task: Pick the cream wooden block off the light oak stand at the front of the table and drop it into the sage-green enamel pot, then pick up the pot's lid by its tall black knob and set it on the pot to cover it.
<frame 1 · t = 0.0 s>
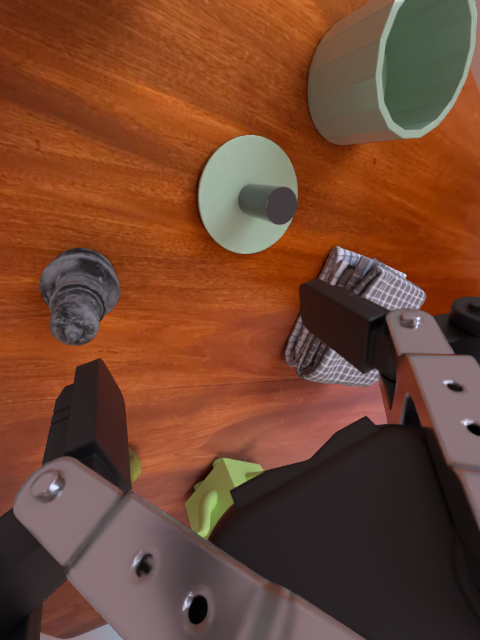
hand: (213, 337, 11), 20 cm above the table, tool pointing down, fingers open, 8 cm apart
towel: (337, 313, 42), on the table
pot: (348, 87, 28), on the table
chess piece: (84, 275, 26), on the table
kettle: (217, 475, 49), on the table
lid: (249, 199, 28), point 1 cm above the table
lime: (119, 451, 37), on the table
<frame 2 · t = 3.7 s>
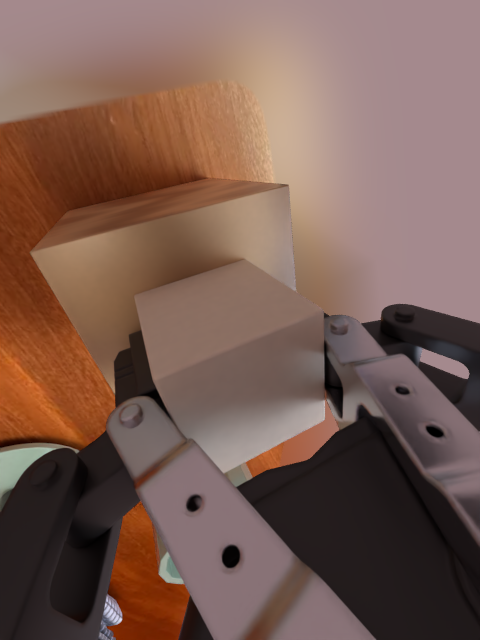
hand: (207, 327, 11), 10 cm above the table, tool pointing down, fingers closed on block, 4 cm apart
towel: (23, 620, 32), on the table
pot: (193, 461, 31), on the table
block: (206, 323, 12), point 10 cm above the table, touching gripper, stand
stand: (165, 260, 20), on the table
lid: (24, 491, 23), point 1 cm above the table
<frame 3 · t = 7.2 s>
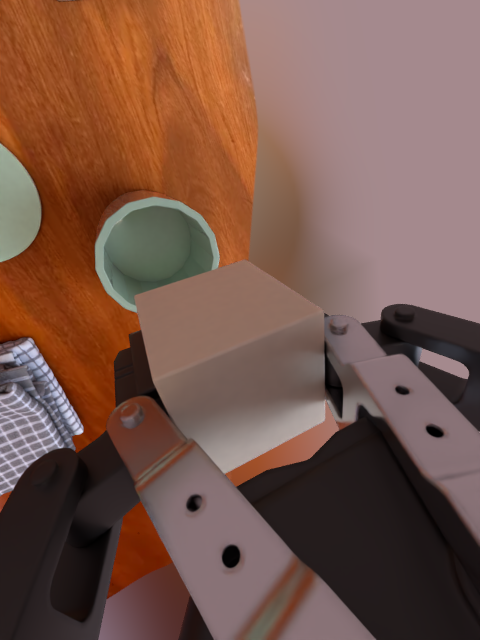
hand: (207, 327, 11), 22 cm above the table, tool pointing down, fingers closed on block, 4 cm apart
pot: (149, 241, 30), on the table
block: (206, 324, 12), point 22 cm above the table, touching gripper
when the fingers open (8 cm above the table, at t = 10.7 s): block drops 7 cm, resting on pot.
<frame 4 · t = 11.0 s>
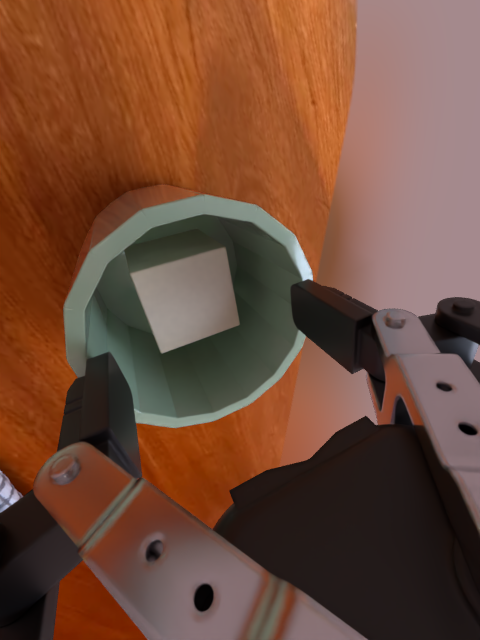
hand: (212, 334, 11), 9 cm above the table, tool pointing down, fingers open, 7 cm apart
pot: (170, 270, 18), on the table
block: (172, 272, 18), resting on pot
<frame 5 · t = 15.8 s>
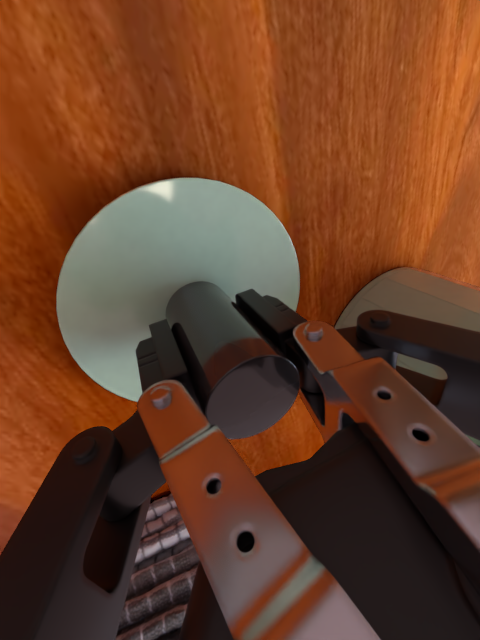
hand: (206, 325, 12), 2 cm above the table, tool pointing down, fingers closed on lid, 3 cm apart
towel: (125, 568, 22), on the table
pot: (381, 331, 21), on the table
lid: (195, 307, 13), point 1 cm above the table, touching gripper
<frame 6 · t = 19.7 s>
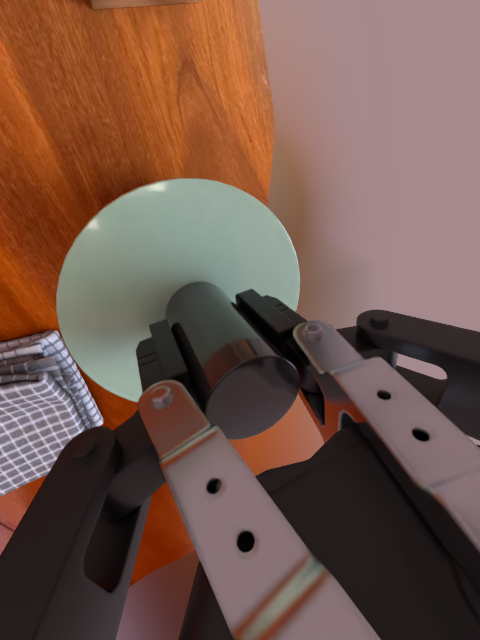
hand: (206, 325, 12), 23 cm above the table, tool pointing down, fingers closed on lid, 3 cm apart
towel: (2, 400, 32), on the table
lid: (195, 308, 13), point 21 cm above the table, touching gripper
when the fingers open (10 cm above the table, at t = 23.4 s): lid stays where it is, resting on pot.
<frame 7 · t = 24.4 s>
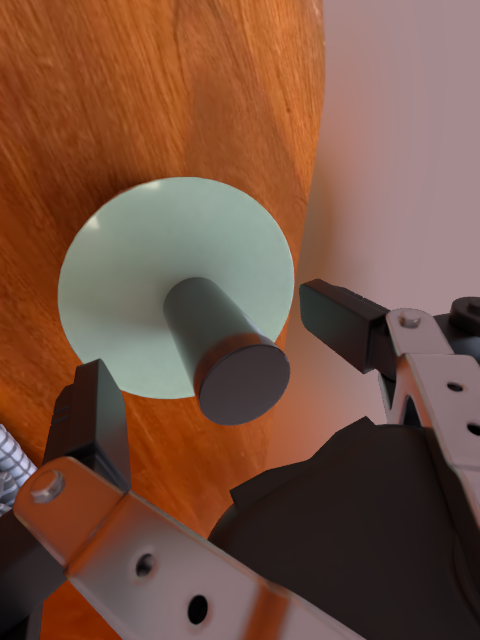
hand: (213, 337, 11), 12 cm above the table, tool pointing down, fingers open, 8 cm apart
lid: (192, 303, 14), point 8 cm above the table, touching pot
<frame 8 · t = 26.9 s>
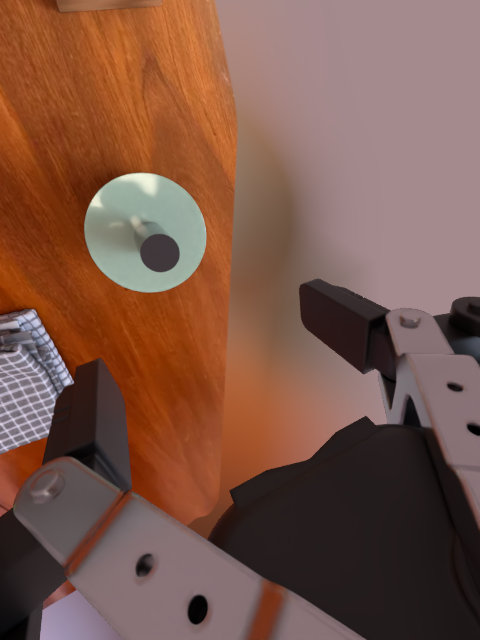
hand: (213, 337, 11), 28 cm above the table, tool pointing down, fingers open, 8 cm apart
lid: (149, 237, 27), point 8 cm above the table, touching pot
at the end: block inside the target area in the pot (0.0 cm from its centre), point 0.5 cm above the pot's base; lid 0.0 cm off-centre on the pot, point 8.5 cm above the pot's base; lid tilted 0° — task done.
